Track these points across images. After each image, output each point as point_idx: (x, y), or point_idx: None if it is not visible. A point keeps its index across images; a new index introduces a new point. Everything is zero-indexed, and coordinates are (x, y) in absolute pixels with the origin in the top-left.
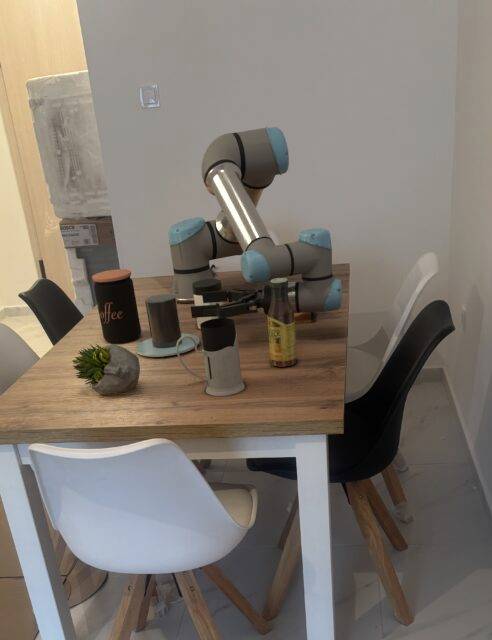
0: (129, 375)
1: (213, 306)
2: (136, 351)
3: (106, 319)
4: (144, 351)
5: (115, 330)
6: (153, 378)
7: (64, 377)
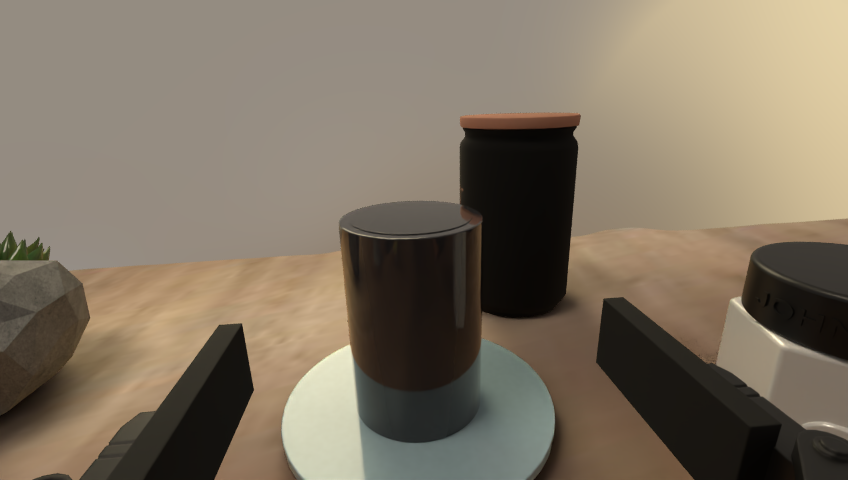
0: None
1: (120, 470)
2: None
3: None
4: (337, 360)
5: None
6: (25, 473)
7: (234, 289)
